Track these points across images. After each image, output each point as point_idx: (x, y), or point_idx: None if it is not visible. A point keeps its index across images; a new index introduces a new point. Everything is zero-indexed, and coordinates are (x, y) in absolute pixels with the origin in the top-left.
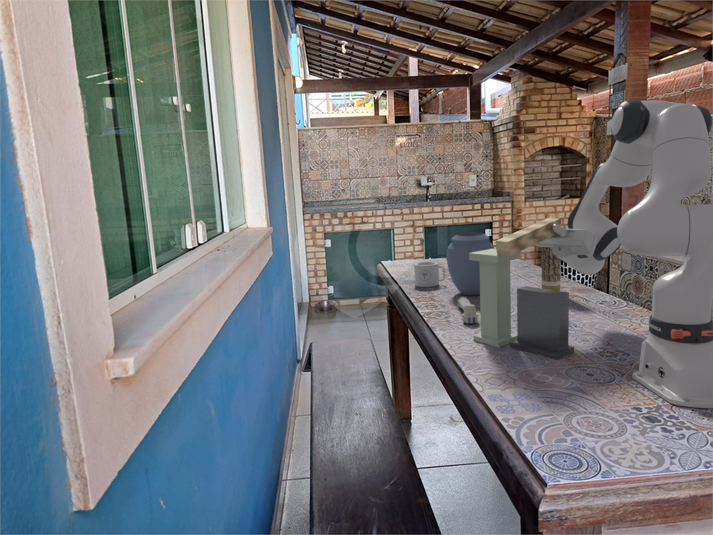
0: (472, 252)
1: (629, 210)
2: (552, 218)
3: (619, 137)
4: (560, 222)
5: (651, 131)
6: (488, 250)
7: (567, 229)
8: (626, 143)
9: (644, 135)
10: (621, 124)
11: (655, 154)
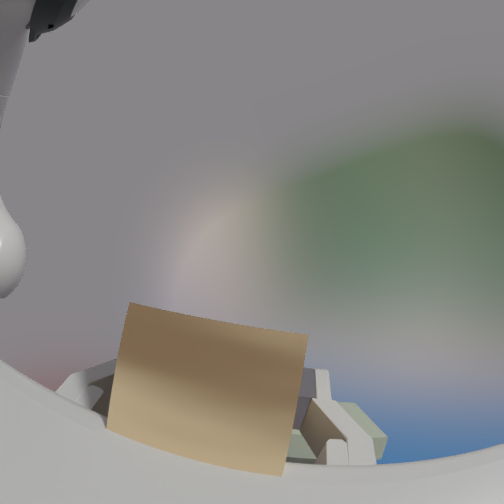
0: (357, 406)
1: (18, 226)
2: (229, 325)
3: (60, 20)
4: (123, 353)
5: (19, 42)
6: (358, 423)
7: (52, 393)
8: (36, 11)
9: (21, 29)
10: (73, 16)
11: (4, 109)
